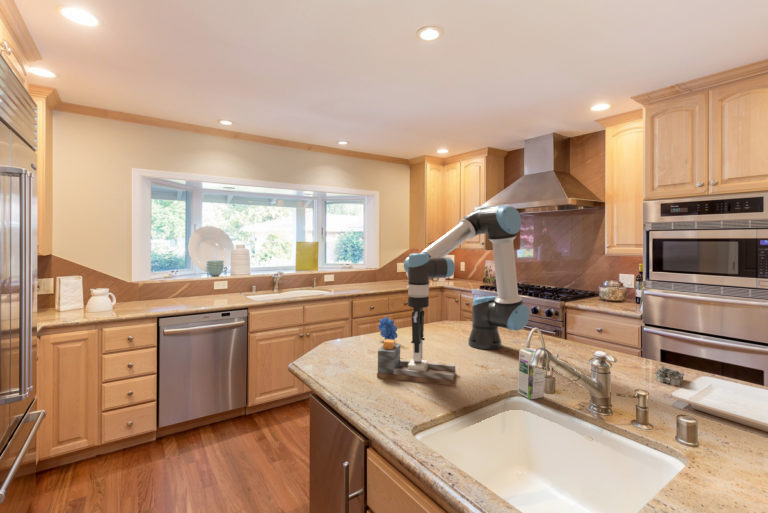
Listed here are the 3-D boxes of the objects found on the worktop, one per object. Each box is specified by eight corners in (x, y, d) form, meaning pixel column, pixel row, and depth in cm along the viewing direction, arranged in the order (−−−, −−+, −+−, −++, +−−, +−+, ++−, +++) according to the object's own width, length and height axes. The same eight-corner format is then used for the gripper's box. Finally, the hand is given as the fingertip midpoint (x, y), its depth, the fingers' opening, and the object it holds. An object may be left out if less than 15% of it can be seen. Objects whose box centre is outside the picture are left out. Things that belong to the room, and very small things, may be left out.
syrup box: (517, 393, 123) (518, 349, 122) (531, 390, 125) (532, 347, 124) (530, 400, 117) (531, 354, 117) (544, 397, 120) (545, 352, 119)
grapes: (372, 341, 184) (373, 316, 184) (382, 338, 189) (382, 314, 189) (391, 345, 176) (391, 320, 176) (400, 342, 182) (400, 318, 181)
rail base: (455, 373, 140) (455, 348, 140) (452, 385, 129) (452, 358, 128) (385, 366, 148) (385, 342, 147) (376, 377, 136) (377, 351, 136)
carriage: (427, 368, 141) (427, 336, 140) (424, 374, 134) (424, 341, 133) (411, 366, 142) (411, 335, 142) (407, 373, 136) (408, 340, 135)
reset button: (395, 347, 142) (395, 340, 142) (392, 350, 139) (392, 342, 138) (386, 347, 143) (386, 339, 143) (383, 349, 139) (383, 341, 139)
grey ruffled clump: (678, 388, 128) (678, 376, 128) (652, 381, 134) (653, 370, 134) (686, 380, 135) (687, 369, 135) (661, 375, 140) (662, 364, 140)
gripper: (412, 292, 145) (411, 352, 146) (403, 298, 130) (403, 365, 131) (431, 293, 143) (431, 354, 144) (425, 299, 128) (424, 367, 130)
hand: (417, 359), depth 138 cm, fingers closed on carriage, 2 cm apart
